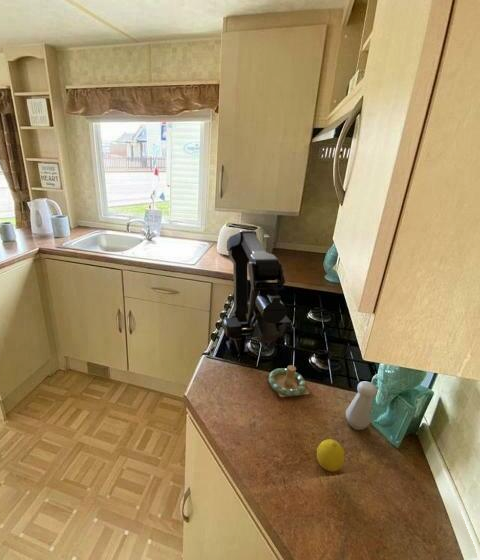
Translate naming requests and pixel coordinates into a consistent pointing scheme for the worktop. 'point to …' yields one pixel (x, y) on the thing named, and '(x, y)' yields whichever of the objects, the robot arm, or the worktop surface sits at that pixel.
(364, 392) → the salt shaker
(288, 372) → the stand
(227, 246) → the robot arm
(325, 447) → the lemon
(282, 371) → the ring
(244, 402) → the worktop surface
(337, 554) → the worktop surface
